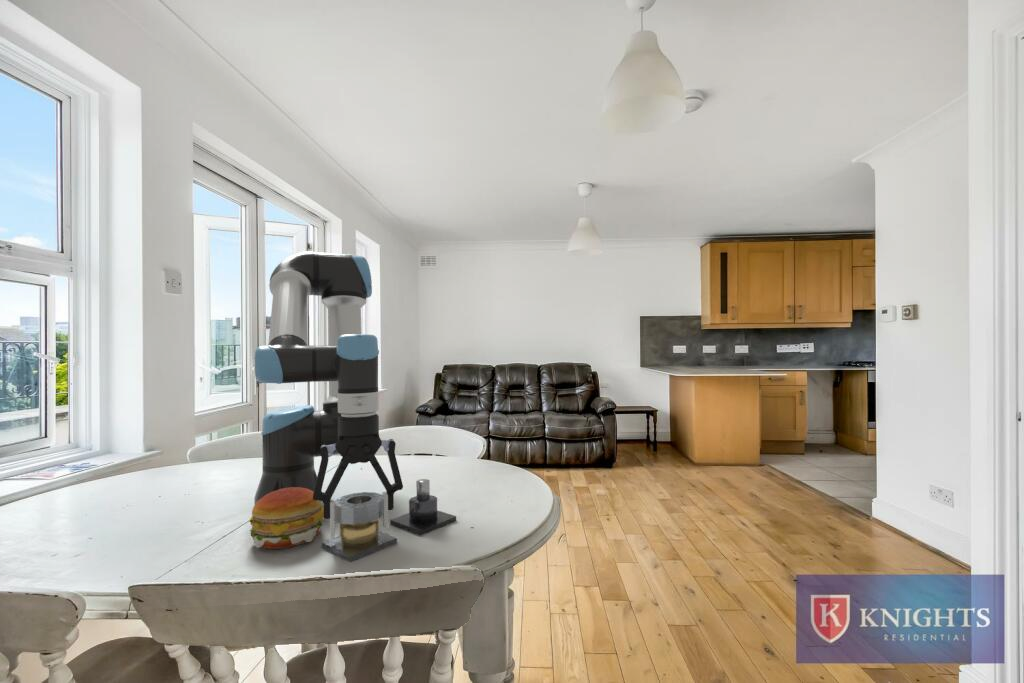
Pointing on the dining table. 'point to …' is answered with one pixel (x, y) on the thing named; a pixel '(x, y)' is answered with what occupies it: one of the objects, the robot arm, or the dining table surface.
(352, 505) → the grey faceted ring
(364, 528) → the hub
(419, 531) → the stand
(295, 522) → the burger
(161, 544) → the dining table surface
